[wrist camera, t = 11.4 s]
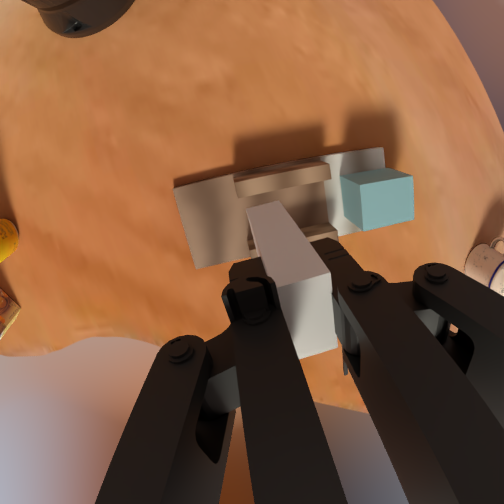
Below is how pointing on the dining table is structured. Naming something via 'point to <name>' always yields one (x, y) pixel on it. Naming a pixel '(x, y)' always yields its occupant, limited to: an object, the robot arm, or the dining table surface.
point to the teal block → (377, 198)
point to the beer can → (7, 238)
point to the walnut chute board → (265, 191)
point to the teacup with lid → (487, 266)
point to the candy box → (7, 312)
